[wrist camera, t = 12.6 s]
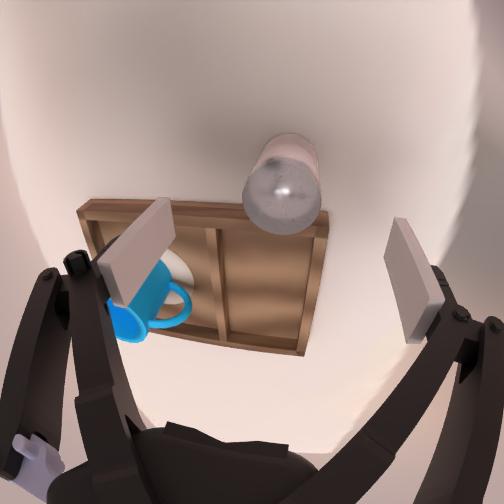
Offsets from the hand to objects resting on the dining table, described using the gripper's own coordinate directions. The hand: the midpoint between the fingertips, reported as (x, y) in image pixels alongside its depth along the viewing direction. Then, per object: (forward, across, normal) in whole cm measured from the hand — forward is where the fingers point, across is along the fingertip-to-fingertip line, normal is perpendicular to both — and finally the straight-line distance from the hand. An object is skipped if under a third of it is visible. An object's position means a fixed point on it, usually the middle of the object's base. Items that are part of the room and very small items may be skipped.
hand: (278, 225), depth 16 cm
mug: (+11, -16, -15) cm, 24 cm away
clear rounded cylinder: (+12, 0, 0) cm, 12 cm away
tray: (+12, -10, -14) cm, 21 cm away
